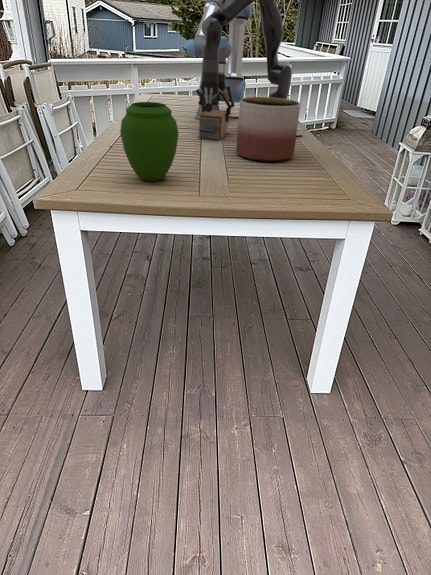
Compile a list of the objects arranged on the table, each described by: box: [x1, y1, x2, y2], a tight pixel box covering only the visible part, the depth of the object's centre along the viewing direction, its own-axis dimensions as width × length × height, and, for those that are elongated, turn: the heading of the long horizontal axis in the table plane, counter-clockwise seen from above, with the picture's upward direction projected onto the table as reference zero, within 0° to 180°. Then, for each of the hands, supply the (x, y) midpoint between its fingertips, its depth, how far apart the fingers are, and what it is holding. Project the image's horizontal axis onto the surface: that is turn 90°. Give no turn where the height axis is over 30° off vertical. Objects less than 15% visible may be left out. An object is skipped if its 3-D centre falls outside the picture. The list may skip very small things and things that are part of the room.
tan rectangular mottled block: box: [198, 109, 228, 141], centre depth 208 cm, size 17×11×11 cm, turn 168°
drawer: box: [198, 117, 220, 140], centre depth 204 cm, size 21×10×9 cm, turn 168°
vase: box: [119, 101, 179, 182], centre depth 140 cm, size 20×20×24 cm
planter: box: [235, 96, 301, 163], centre depth 175 cm, size 25×25×22 cm
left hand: (215, 120), depth 212 cm, fingers closed on tan rectangular mottled block, 11 cm apart
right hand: (208, 112), depth 193 cm, fingers closed
